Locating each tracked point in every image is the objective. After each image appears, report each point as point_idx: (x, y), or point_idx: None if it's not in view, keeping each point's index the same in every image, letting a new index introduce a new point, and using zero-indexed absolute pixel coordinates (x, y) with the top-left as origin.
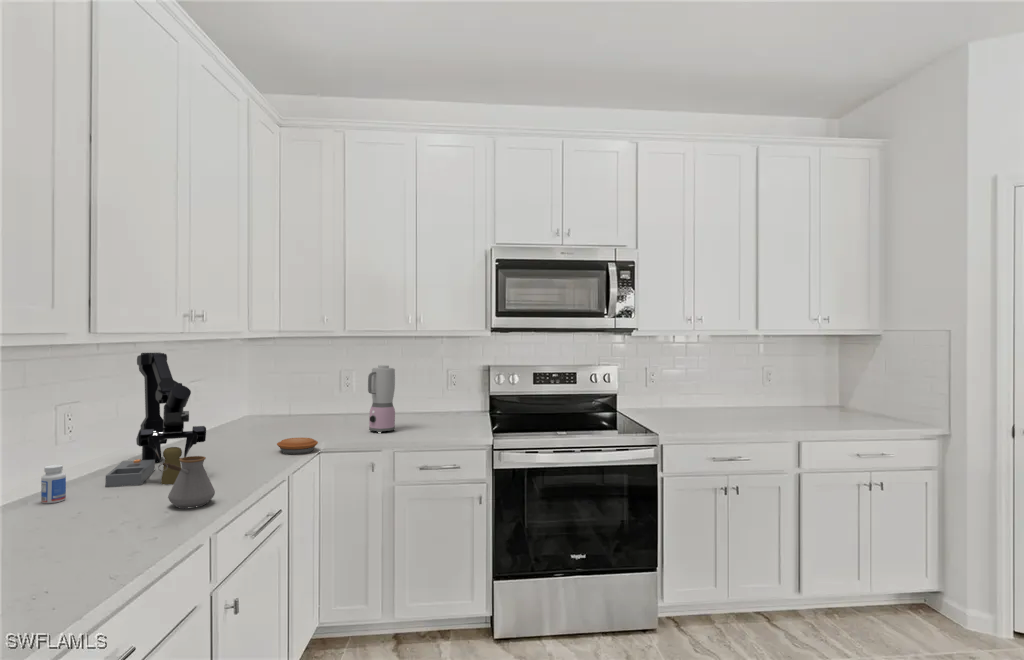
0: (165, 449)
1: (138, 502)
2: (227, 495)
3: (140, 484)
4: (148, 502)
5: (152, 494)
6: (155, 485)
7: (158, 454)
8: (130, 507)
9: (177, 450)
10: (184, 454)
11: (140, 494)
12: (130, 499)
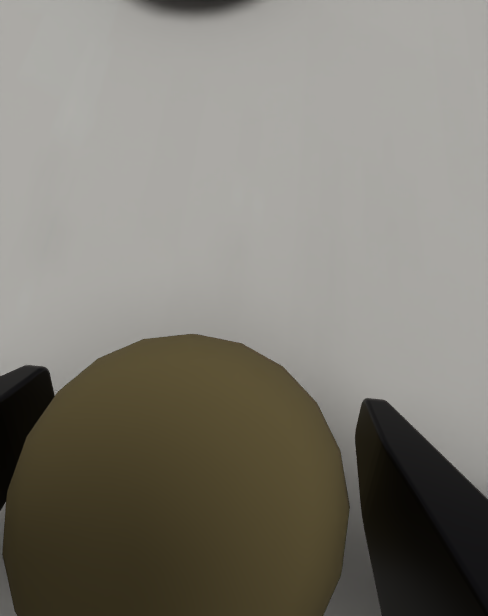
0: (317, 485)
1: (425, 67)
2: (31, 12)
3: None
4: (378, 49)
5: (362, 184)
6: (344, 417)
7: (423, 438)
8: (453, 9)
9: (105, 357)
10: (31, 375)
11: (429, 215)
12: (472, 136)
